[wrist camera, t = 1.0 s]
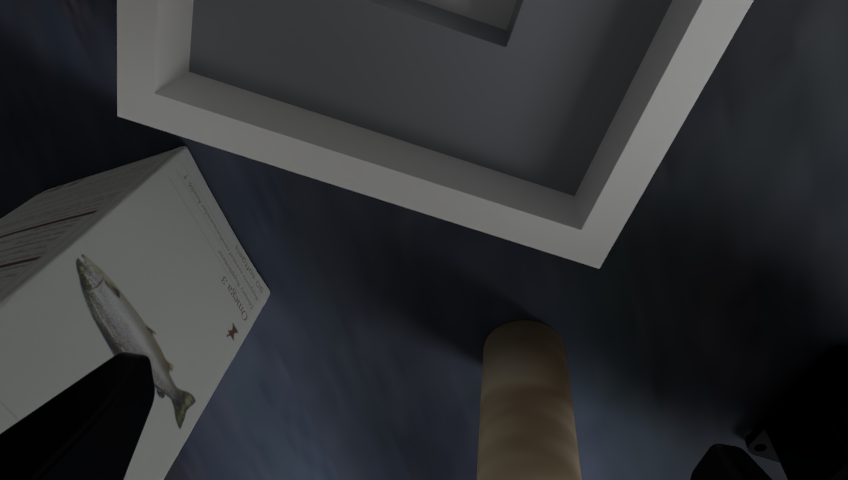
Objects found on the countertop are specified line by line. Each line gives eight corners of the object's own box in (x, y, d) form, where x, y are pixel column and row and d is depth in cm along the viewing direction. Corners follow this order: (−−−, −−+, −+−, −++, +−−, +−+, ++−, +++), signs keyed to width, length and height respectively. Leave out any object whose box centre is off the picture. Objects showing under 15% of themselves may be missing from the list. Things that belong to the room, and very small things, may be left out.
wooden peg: (579, 334, 25) (602, 481, 19) (546, 390, 26) (557, 539, 21) (499, 310, 24) (497, 450, 18) (472, 367, 26) (462, 511, 20)
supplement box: (277, 292, 25) (111, 599, 15) (137, 322, 27) (-99, 612, 17) (191, 137, 22) (-110, 392, 11) (37, 184, 24) (-342, 438, 13)
